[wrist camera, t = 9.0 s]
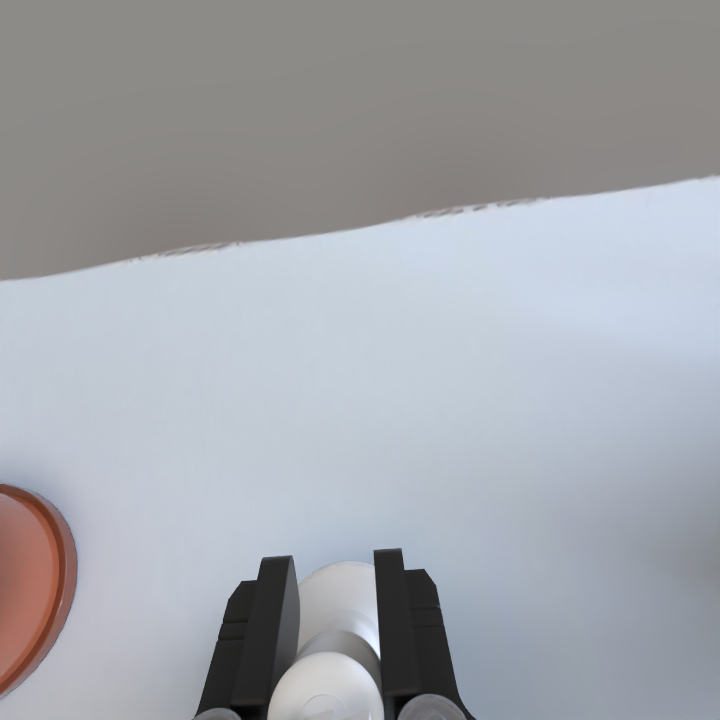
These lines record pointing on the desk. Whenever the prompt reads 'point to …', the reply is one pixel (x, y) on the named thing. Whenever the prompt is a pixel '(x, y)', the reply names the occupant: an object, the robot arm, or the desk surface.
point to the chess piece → (334, 649)
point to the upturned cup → (31, 581)
